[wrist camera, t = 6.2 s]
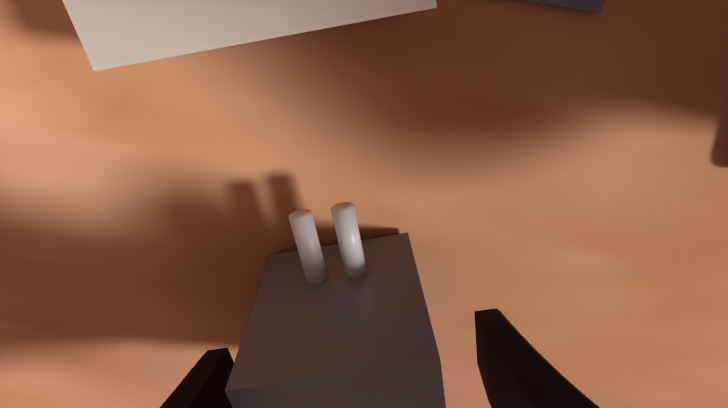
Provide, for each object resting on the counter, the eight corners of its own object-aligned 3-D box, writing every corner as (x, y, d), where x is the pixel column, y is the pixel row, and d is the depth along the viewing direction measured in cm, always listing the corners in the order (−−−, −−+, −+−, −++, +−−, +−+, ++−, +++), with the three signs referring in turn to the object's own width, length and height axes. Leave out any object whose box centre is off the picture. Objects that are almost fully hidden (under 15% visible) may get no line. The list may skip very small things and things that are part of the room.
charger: (251, 198, 12) (189, 316, 7) (399, 173, 11) (430, 279, 7) (302, 354, 14) (280, 509, 10) (422, 336, 14) (454, 487, 10)
